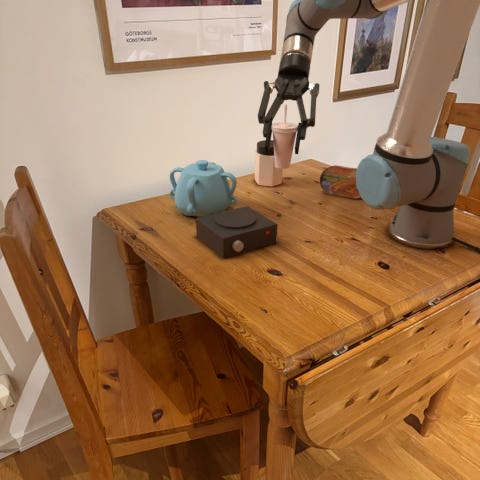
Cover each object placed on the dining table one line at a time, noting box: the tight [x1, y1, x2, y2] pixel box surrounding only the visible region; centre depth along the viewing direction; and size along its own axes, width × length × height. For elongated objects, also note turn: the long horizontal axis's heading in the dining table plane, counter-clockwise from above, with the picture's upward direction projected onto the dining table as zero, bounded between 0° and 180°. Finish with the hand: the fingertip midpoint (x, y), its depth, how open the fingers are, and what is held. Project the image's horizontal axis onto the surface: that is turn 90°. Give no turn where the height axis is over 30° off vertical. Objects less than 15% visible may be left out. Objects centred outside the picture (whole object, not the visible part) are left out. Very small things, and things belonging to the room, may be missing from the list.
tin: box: [319, 164, 362, 200], centre depth 132 cm, size 15×3×8 cm, turn 63°
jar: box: [254, 139, 284, 187], centre depth 139 cm, size 9×8×12 cm
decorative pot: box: [169, 159, 239, 218], centre depth 119 cm, size 16×16×14 cm
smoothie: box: [271, 104, 298, 170], centre depth 107 cm, size 6×6×14 cm
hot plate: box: [195, 205, 279, 259], centre depth 107 cm, size 14×15×6 cm
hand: (281, 150), depth 105 cm, fingers closed on smoothie, 6 cm apart
